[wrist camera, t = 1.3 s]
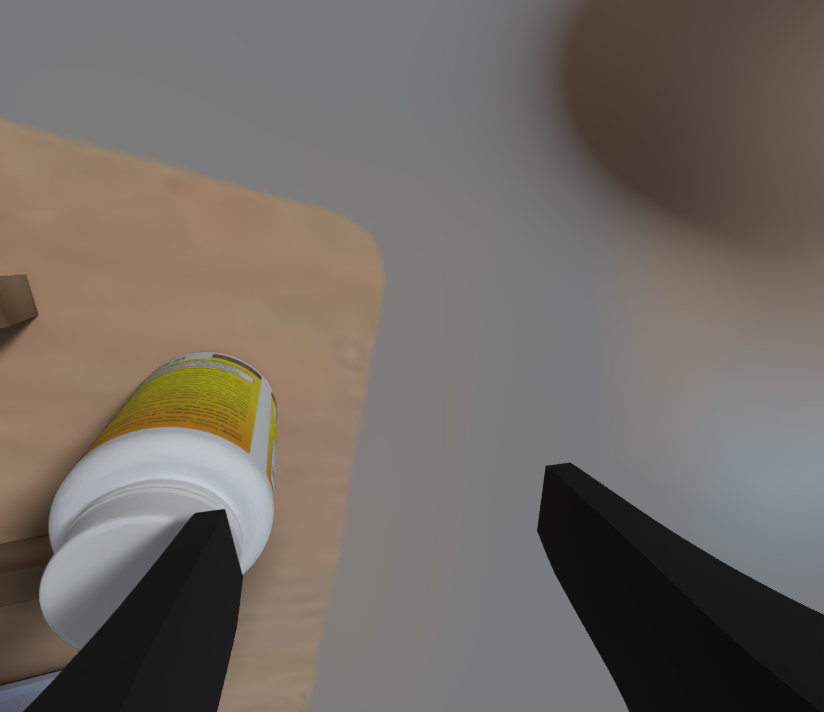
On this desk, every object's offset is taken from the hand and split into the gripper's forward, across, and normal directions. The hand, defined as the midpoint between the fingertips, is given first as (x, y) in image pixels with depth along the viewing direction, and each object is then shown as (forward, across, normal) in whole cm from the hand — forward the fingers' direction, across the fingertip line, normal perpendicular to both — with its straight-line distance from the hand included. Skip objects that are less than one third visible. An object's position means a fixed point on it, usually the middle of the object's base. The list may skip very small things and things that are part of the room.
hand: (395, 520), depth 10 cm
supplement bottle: (+10, +7, +2) cm, 13 cm away
